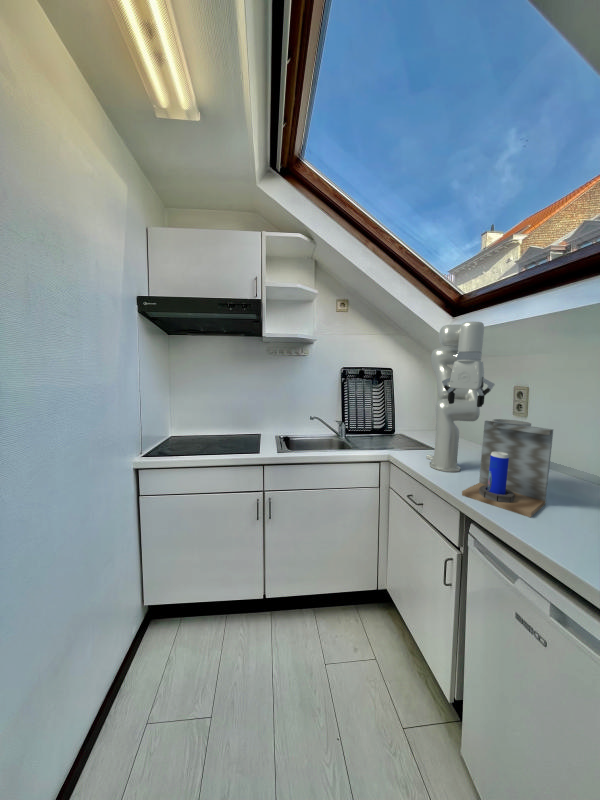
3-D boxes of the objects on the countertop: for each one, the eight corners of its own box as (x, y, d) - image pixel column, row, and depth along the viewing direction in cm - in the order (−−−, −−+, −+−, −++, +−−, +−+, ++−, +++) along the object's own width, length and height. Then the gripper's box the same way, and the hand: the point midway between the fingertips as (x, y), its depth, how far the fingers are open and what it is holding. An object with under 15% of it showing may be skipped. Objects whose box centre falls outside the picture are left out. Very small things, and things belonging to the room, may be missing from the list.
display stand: (461, 495, 107) (467, 424, 104) (480, 485, 117) (486, 420, 114) (530, 517, 91) (539, 434, 89) (545, 504, 101) (553, 429, 99)
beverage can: (488, 491, 107) (491, 450, 105) (505, 496, 103) (509, 453, 102) (485, 496, 103) (489, 453, 101) (504, 500, 99) (508, 456, 98)
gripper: (440, 357, 112) (436, 403, 114) (492, 357, 99) (487, 408, 101) (449, 357, 117) (445, 401, 119) (500, 357, 104) (495, 407, 105)
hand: (464, 405), depth 110 cm, fingers open, 9 cm apart
